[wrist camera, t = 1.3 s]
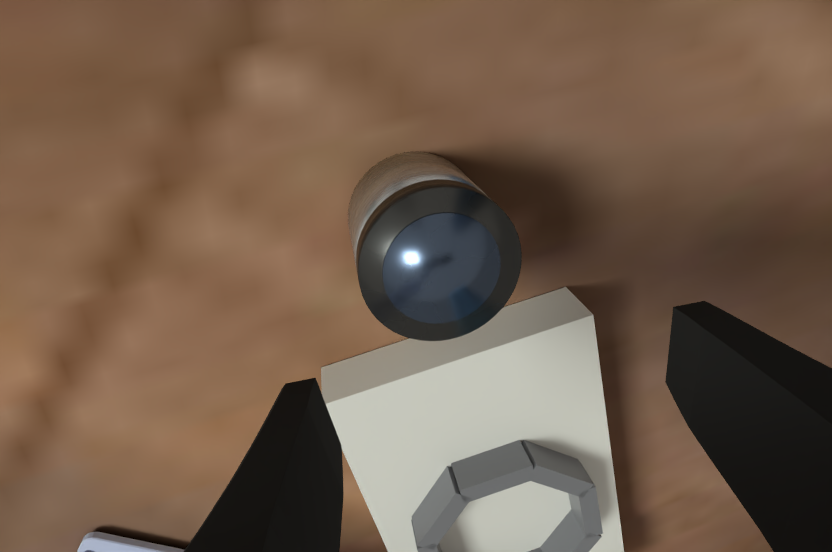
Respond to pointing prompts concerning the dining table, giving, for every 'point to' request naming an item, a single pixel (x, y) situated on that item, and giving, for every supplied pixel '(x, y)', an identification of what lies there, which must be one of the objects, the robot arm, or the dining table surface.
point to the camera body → (484, 435)
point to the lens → (430, 248)
